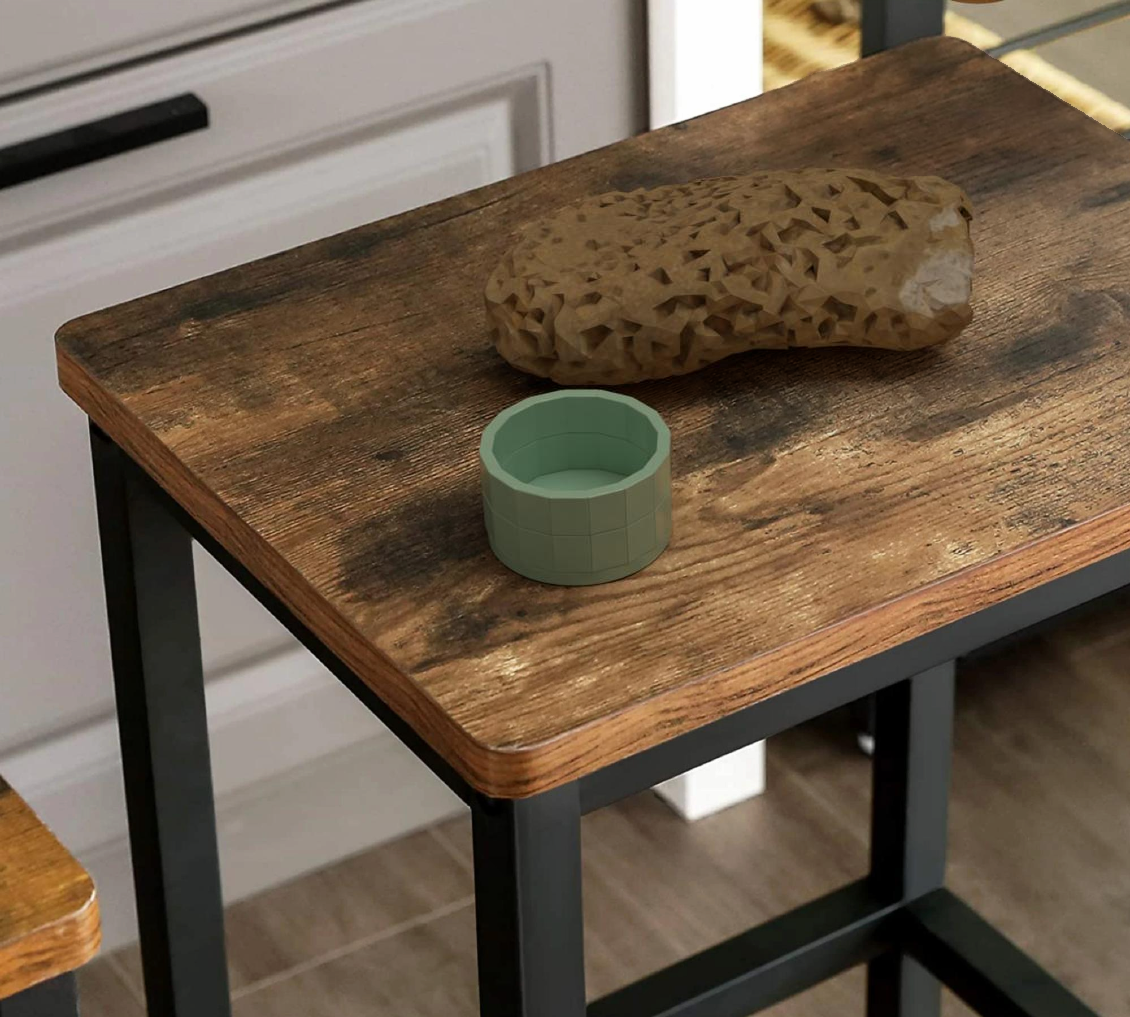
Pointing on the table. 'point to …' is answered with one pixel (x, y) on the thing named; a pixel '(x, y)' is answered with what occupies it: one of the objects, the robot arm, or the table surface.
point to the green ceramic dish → (577, 486)
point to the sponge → (733, 273)
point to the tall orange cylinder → (977, 1)
